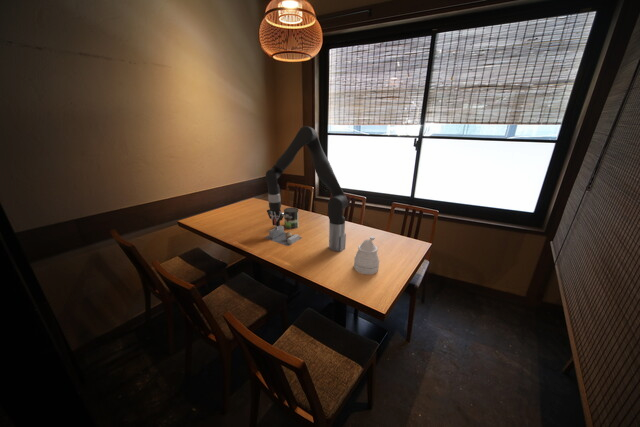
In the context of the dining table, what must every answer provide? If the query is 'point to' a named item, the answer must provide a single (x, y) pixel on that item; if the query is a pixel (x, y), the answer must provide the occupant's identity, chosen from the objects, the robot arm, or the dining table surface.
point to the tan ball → (288, 234)
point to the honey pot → (367, 257)
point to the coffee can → (291, 218)
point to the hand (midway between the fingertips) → (276, 225)
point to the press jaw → (276, 230)
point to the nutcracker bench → (285, 239)
